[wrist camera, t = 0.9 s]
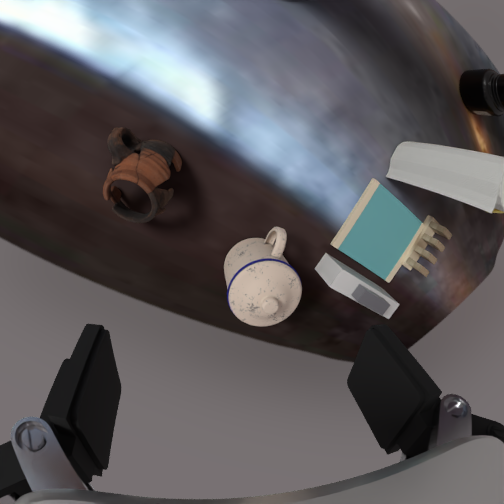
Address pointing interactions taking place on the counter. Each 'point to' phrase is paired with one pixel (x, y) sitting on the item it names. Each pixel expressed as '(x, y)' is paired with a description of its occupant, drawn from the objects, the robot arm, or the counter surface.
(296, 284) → the teacup with lid
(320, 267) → the block
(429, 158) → the paper towel roll
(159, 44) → the counter surface
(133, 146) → the pottery mug
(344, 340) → the counter surface
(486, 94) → the ink bottle
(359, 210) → the pad
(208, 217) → the counter surface
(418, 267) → the cable comb
